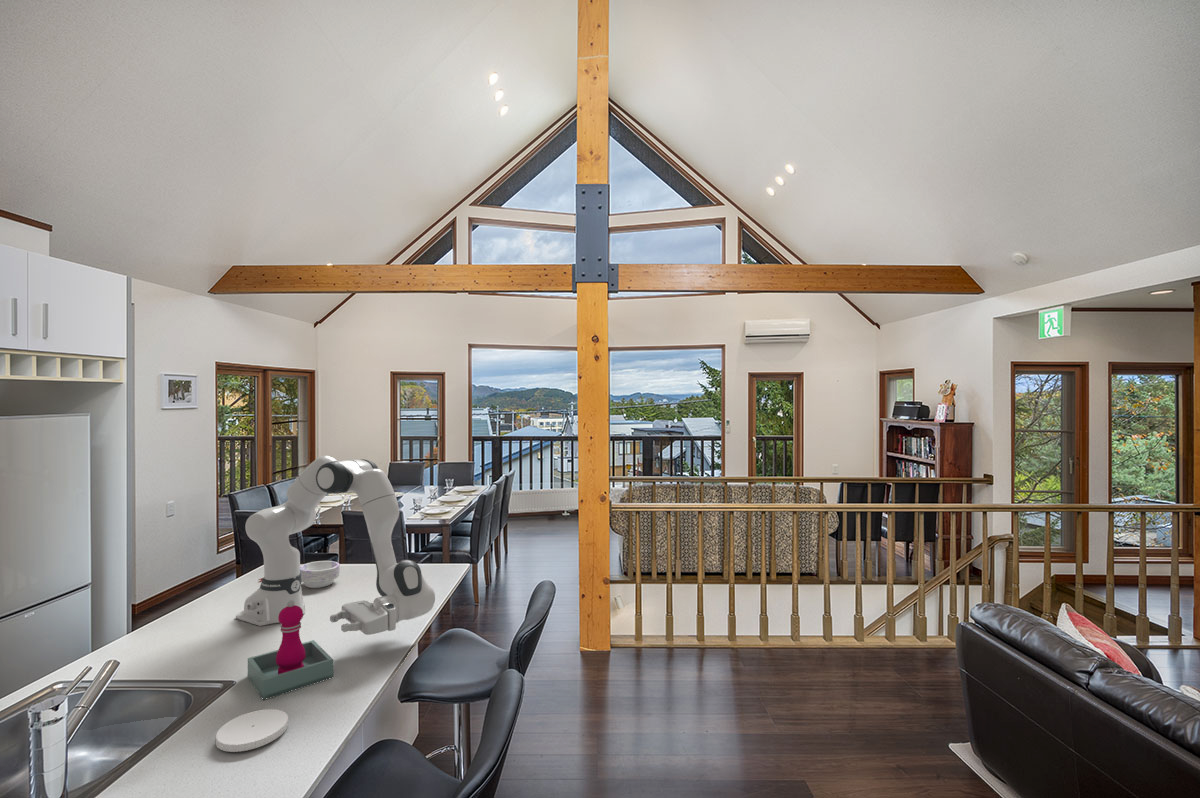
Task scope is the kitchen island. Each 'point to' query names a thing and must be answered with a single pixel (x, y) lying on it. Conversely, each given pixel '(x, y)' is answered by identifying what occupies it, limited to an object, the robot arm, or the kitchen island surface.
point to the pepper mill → (290, 639)
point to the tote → (273, 684)
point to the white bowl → (319, 573)
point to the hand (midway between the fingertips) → (336, 623)
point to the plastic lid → (251, 730)
